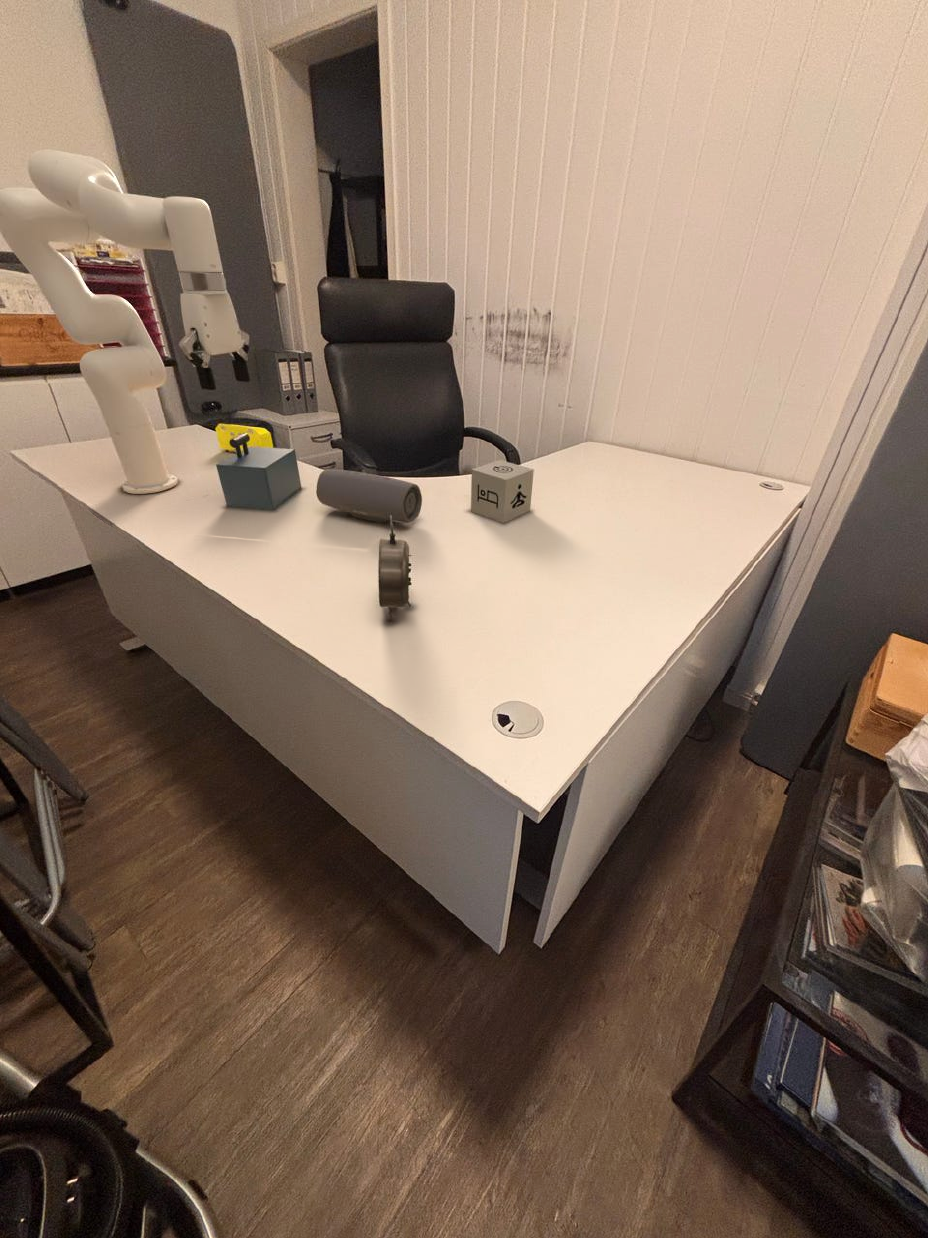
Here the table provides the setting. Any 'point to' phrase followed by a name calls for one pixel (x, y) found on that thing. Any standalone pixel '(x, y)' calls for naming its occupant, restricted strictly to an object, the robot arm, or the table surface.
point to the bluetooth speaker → (369, 495)
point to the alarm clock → (393, 572)
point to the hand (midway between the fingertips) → (226, 385)
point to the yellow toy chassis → (228, 432)
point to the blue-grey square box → (258, 475)
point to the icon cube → (501, 490)
